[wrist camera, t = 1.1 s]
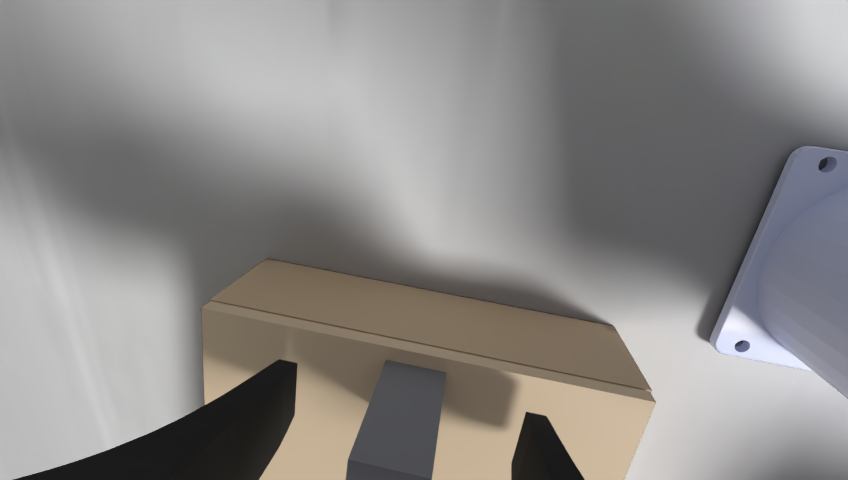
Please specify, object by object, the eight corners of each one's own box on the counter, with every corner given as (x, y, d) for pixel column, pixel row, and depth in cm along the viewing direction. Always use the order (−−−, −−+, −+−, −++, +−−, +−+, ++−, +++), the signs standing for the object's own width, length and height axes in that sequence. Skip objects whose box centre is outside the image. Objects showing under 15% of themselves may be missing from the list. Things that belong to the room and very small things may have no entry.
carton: (614, 326, 17) (651, 390, 13) (525, 584, 22) (534, 682, 18) (266, 258, 18) (209, 299, 14) (261, 518, 23) (218, 597, 20)
